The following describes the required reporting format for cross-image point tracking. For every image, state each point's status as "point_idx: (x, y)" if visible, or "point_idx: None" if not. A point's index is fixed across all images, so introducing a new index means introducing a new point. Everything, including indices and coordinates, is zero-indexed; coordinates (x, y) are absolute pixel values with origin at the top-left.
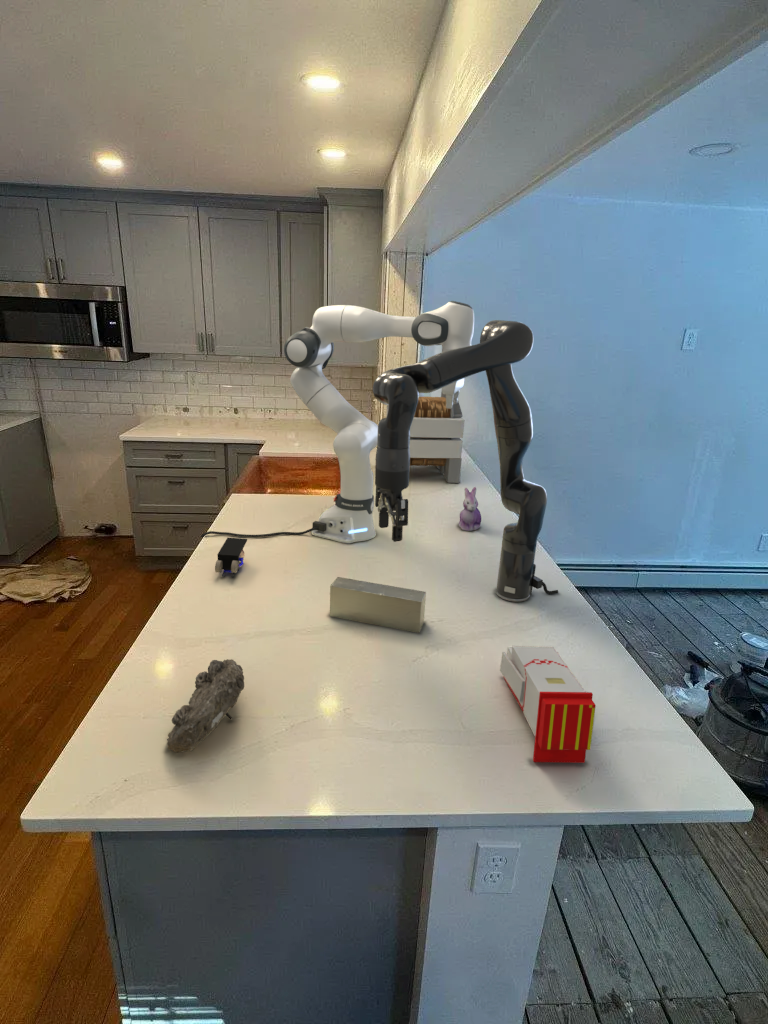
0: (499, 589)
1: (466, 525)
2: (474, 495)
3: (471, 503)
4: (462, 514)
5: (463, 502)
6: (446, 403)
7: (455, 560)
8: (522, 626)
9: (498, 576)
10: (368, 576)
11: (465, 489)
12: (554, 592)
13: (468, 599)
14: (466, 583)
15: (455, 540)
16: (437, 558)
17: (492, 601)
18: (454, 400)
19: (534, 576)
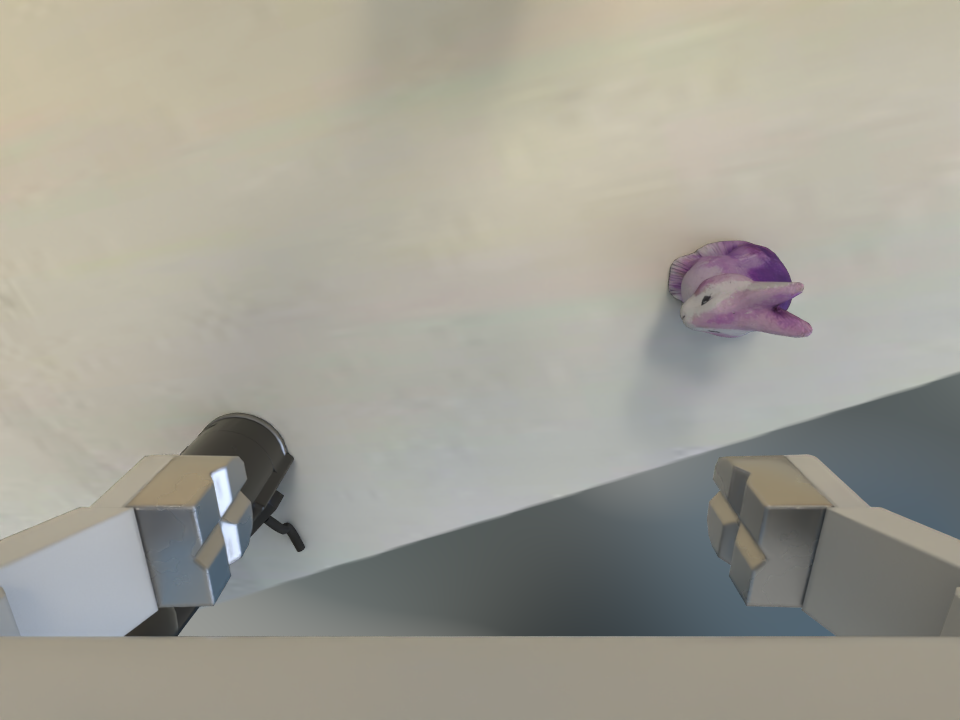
0: (203, 431)
1: (681, 278)
2: (749, 329)
3: (696, 316)
4: (701, 267)
5: (723, 277)
6: (102, 495)
7: (393, 279)
8: (98, 480)
9: (201, 439)
10: (134, 15)
11: (778, 289)
12: (292, 542)
13: (158, 352)
14: (249, 334)
15: (565, 252)
16: (384, 219)
17: (181, 409)
18: (741, 532)
19: (258, 522)
